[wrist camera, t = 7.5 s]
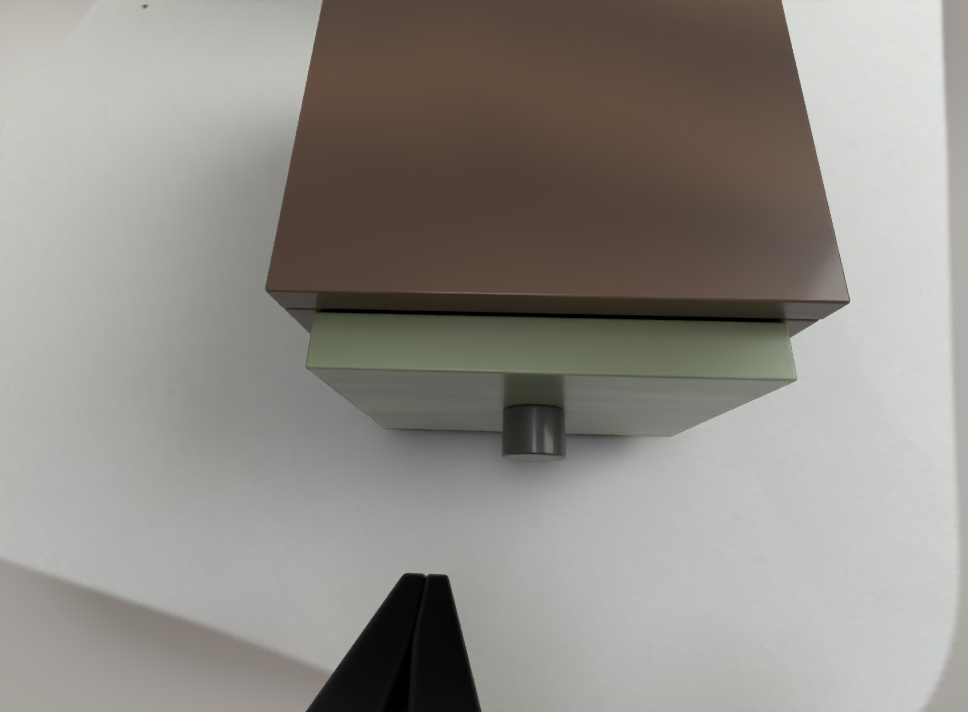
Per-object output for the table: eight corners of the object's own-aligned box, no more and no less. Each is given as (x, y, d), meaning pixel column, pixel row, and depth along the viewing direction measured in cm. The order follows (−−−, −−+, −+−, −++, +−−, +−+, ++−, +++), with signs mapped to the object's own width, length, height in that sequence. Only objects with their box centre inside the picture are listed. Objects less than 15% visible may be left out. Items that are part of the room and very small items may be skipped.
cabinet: (676, 407, 17) (852, 302, 8) (375, 398, 17) (263, 291, 9) (647, 102, 21) (745, -162, 13) (408, 101, 21) (353, -158, 13)
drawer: (675, 475, 15) (810, 445, 9) (379, 465, 15) (294, 429, 9) (643, 128, 19) (718, -65, 13) (414, 126, 20) (374, -64, 13)
